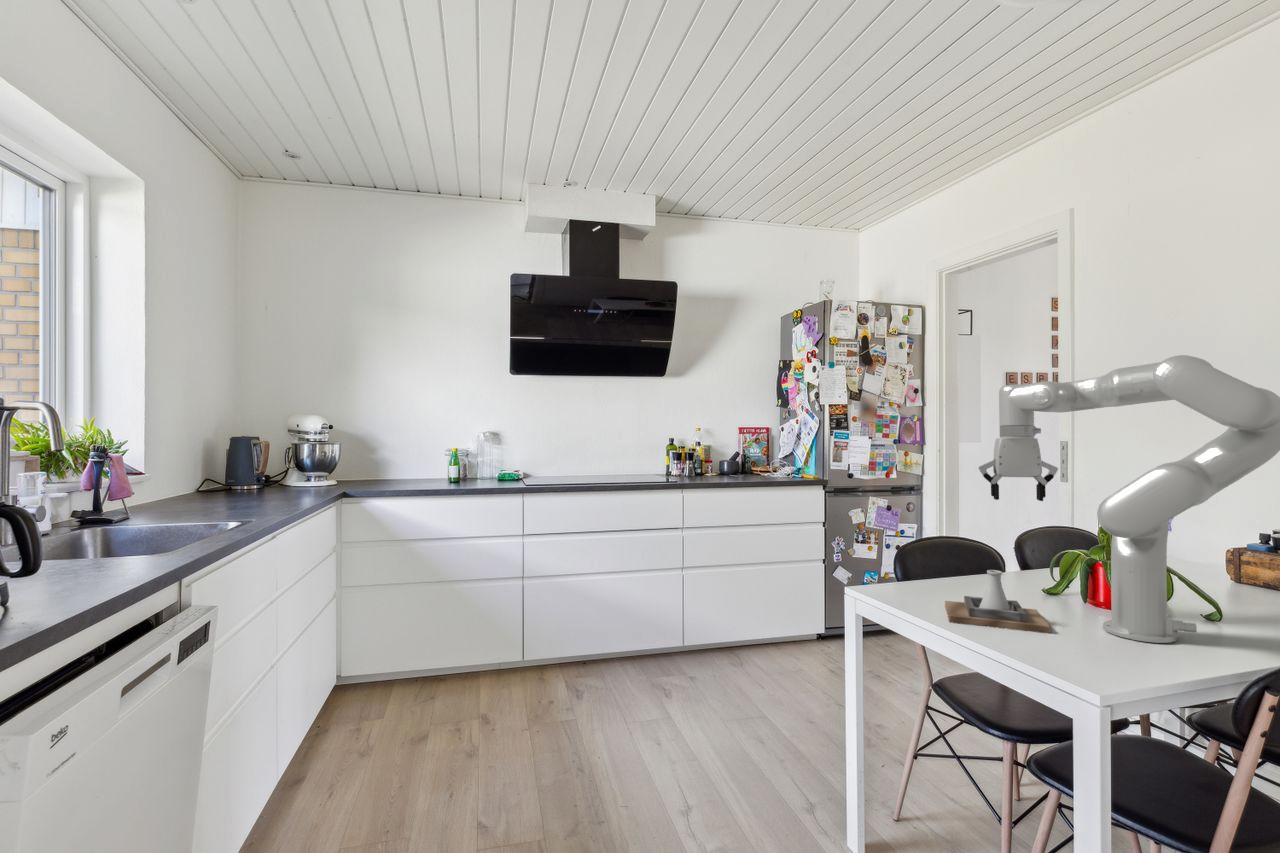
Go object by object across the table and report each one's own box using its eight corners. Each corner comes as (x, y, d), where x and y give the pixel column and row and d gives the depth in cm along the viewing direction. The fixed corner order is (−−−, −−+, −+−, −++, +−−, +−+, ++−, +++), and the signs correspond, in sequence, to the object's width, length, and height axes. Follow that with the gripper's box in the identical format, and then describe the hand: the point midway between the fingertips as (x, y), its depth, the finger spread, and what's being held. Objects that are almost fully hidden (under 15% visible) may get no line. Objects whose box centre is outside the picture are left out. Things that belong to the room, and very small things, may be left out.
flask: (1006, 619, 138) (1006, 576, 138) (972, 612, 144) (972, 570, 144) (1017, 613, 143) (1016, 571, 143) (984, 606, 149) (983, 566, 149)
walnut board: (1036, 615, 146) (1036, 601, 146) (1049, 633, 133) (1049, 617, 133) (944, 606, 154) (944, 592, 154) (949, 622, 141) (949, 607, 141)
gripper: (1052, 432, 153) (1053, 499, 153) (975, 433, 159) (976, 497, 159) (1061, 432, 146) (1062, 502, 146) (980, 433, 152) (982, 500, 152)
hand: (1017, 499), depth 152 cm, fingers open, 9 cm apart
